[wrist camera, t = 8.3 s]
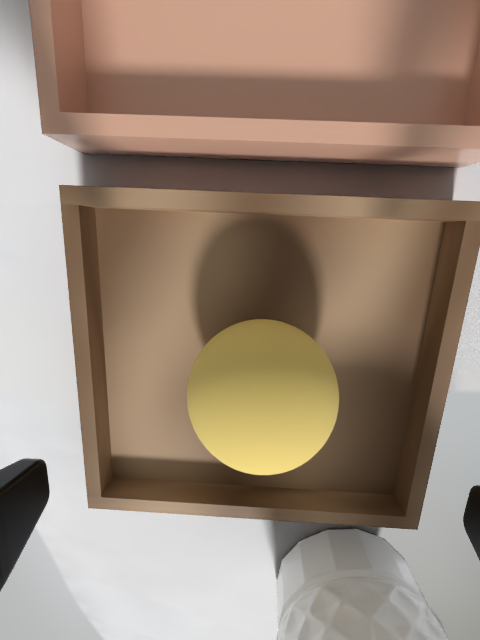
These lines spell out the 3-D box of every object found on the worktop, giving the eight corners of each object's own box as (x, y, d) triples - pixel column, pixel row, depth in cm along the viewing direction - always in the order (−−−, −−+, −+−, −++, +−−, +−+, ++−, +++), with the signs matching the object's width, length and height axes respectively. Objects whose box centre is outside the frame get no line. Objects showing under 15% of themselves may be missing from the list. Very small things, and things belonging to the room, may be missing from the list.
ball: (326, 308, 13) (375, 352, 8) (314, 421, 14) (349, 519, 9) (199, 302, 13) (170, 342, 8) (197, 416, 14) (172, 510, 9)
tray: (452, 207, 12) (489, 201, 11) (397, 493, 16) (417, 529, 14) (88, 192, 13) (59, 185, 11) (108, 475, 16) (88, 508, 14)
